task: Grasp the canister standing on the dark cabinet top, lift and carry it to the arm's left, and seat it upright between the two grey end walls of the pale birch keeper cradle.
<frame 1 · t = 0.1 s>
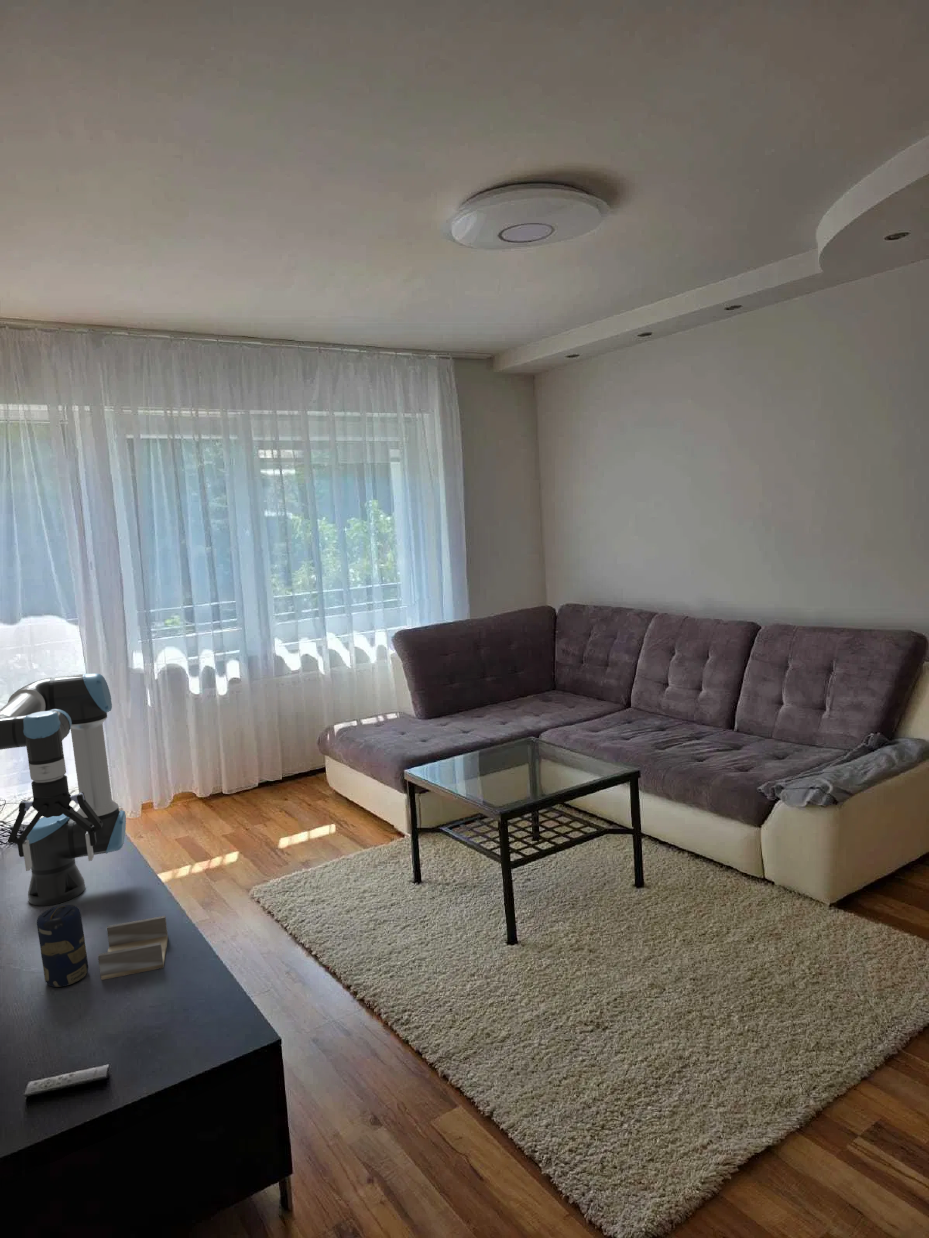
hand: (60, 863, 196), 28 cm above the table, fingers open, 13 cm apart
canister: (67, 979, 197), on the table
keeper cradle: (136, 957, 205), on the table
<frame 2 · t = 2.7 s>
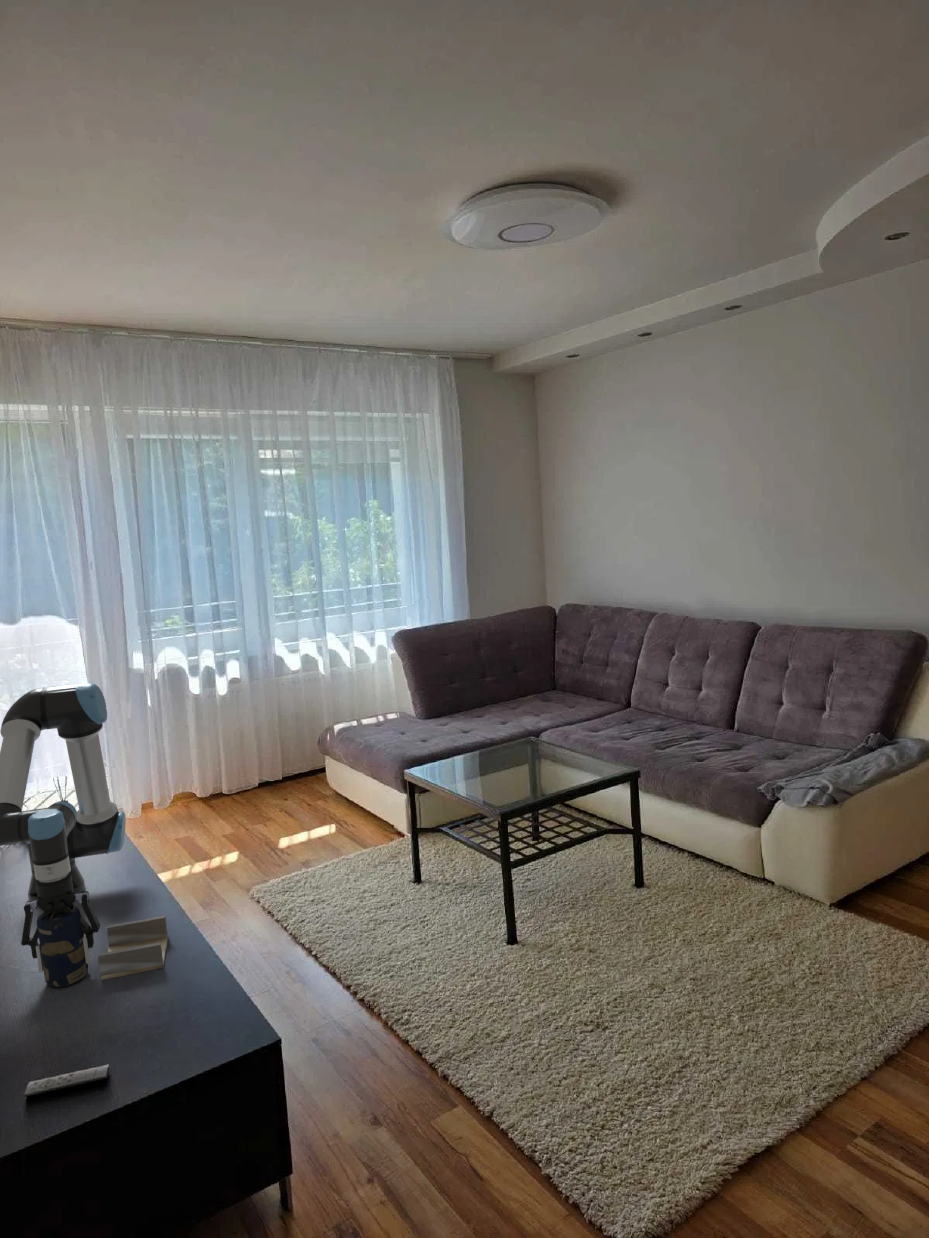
hand: (65, 964, 197), 4 cm above the table, fingers closed on canister, 9 cm apart
canister: (67, 979, 197), on the table, touching gripper
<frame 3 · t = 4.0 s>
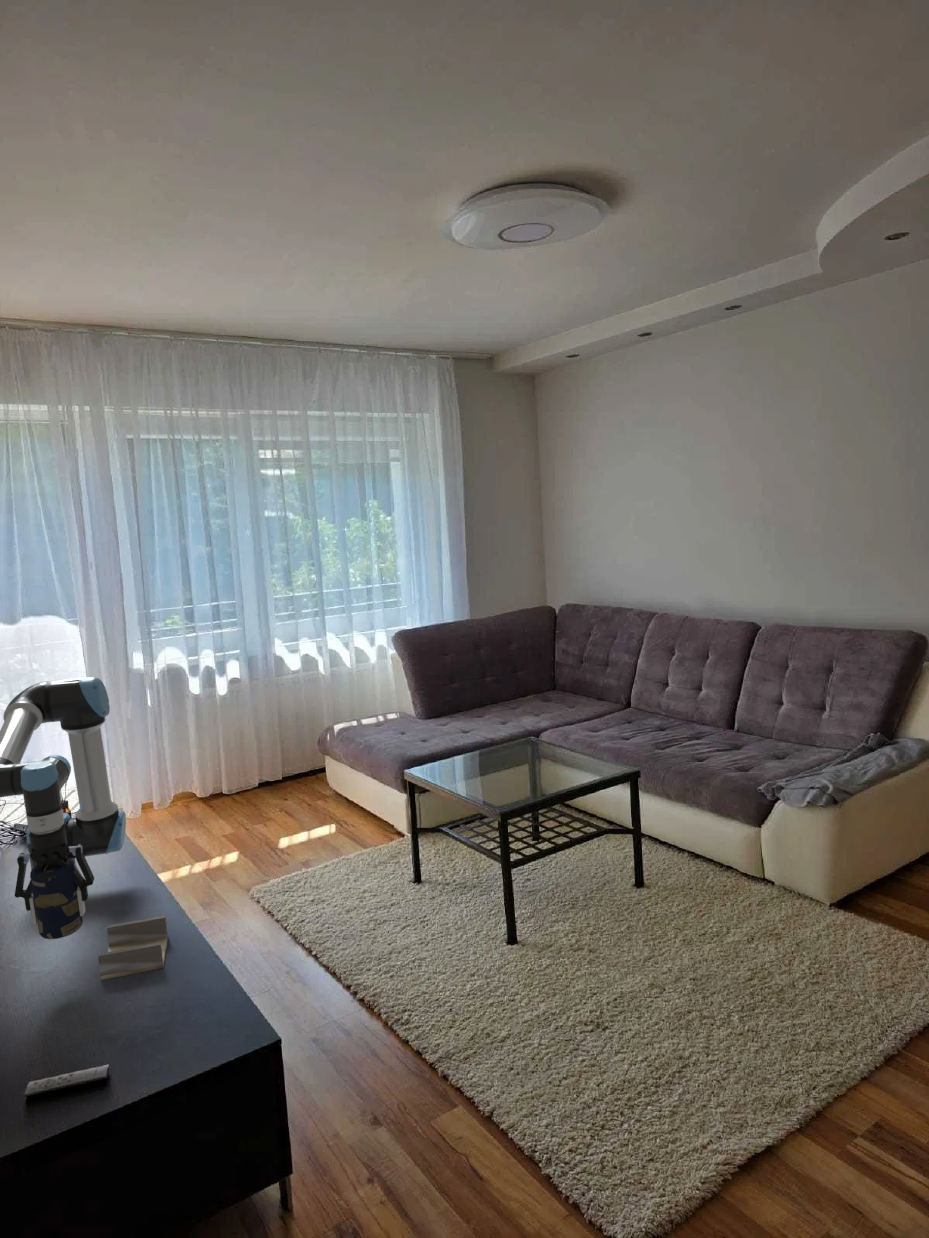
hand: (59, 917, 196), 15 cm above the table, fingers closed on canister, 9 cm apart
canister: (61, 932, 196), point 12 cm above the table, touching gripper
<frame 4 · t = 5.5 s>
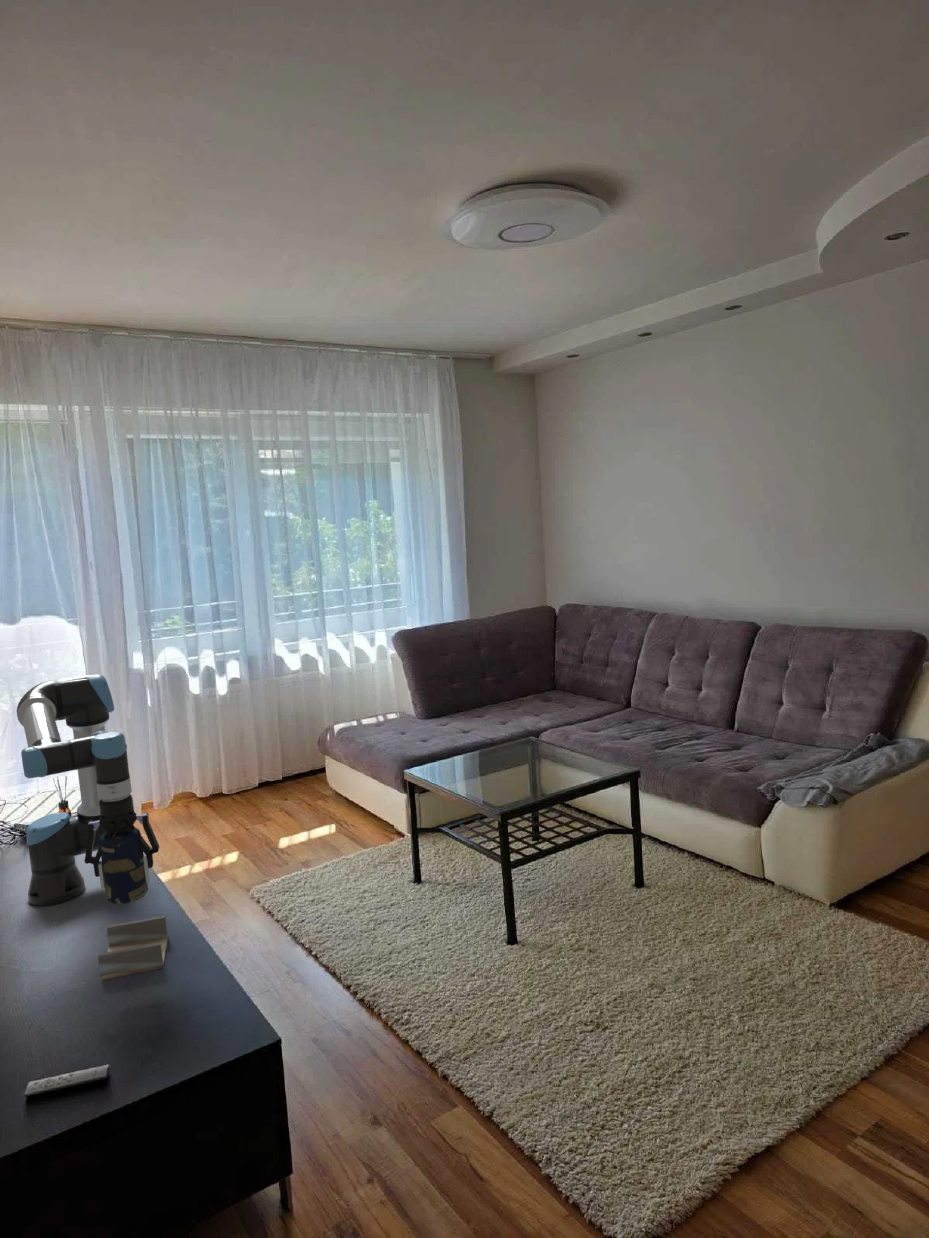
hand: (126, 883, 202), 19 cm above the table, fingers closed on canister, 9 cm apart
canister: (128, 898, 203), point 16 cm above the table, touching gripper
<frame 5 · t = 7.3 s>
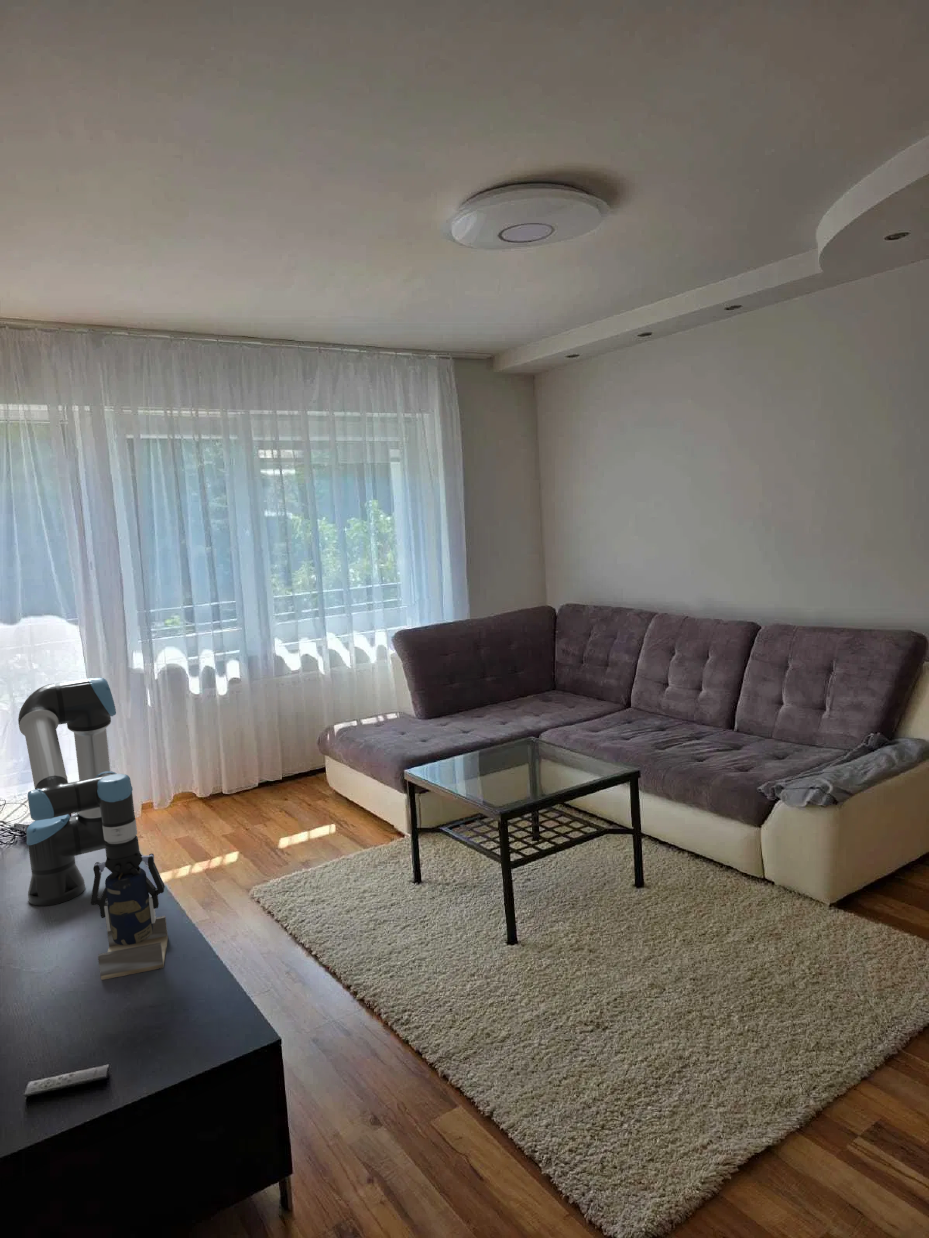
hand: (131, 924, 204), 9 cm above the table, fingers closed on canister, 9 cm apart
canister: (133, 939, 204), point 5 cm above the table, touching gripper
when the fingers open (7 cm above the table, at t = 8.4 s): canister drops 2 cm, resting on keeper cradle.
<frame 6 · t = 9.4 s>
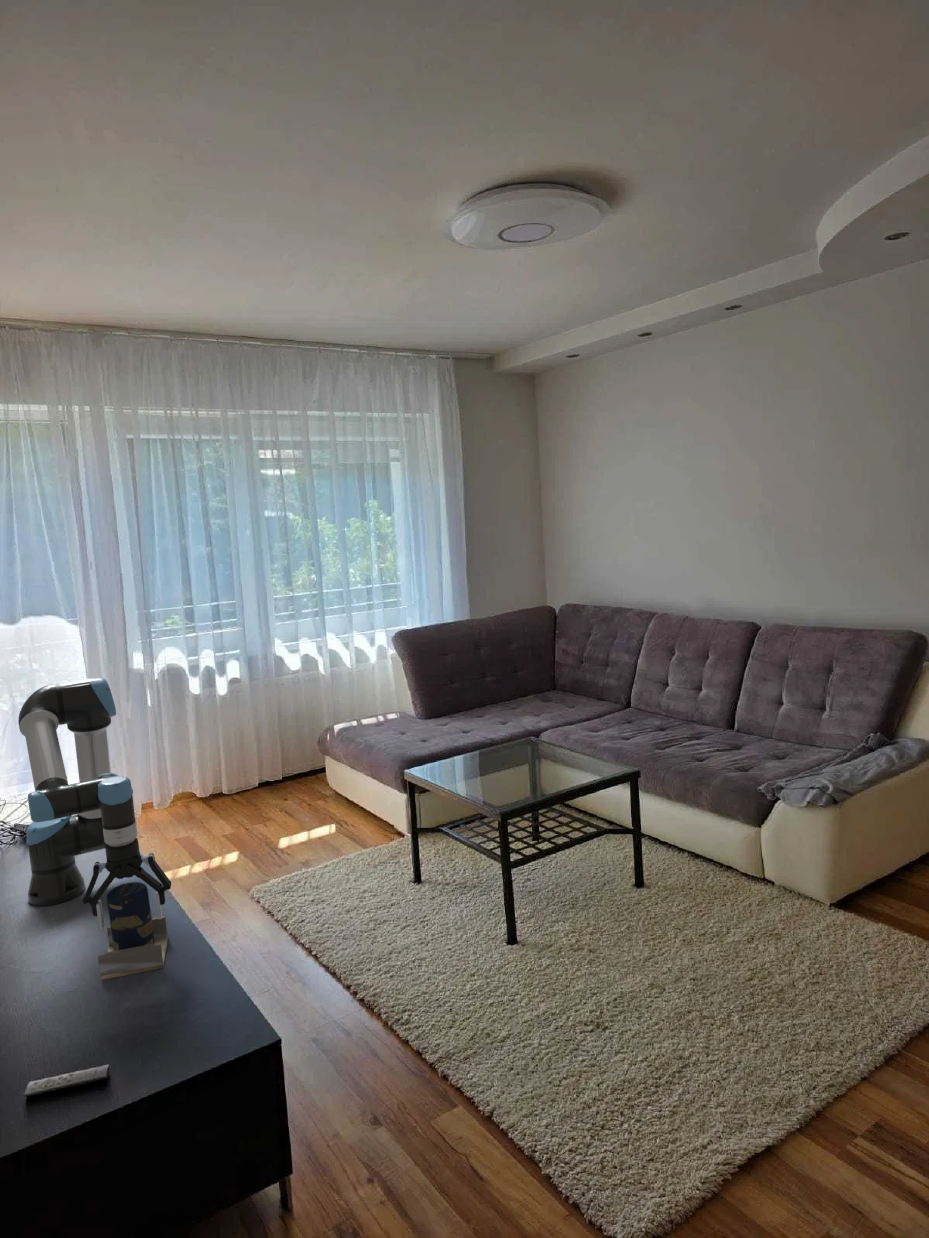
hand: (131, 921, 204), 9 cm above the table, fingers open, 13 cm apart
canister: (135, 954, 205), point 1 cm above the table, touching keeper cradle
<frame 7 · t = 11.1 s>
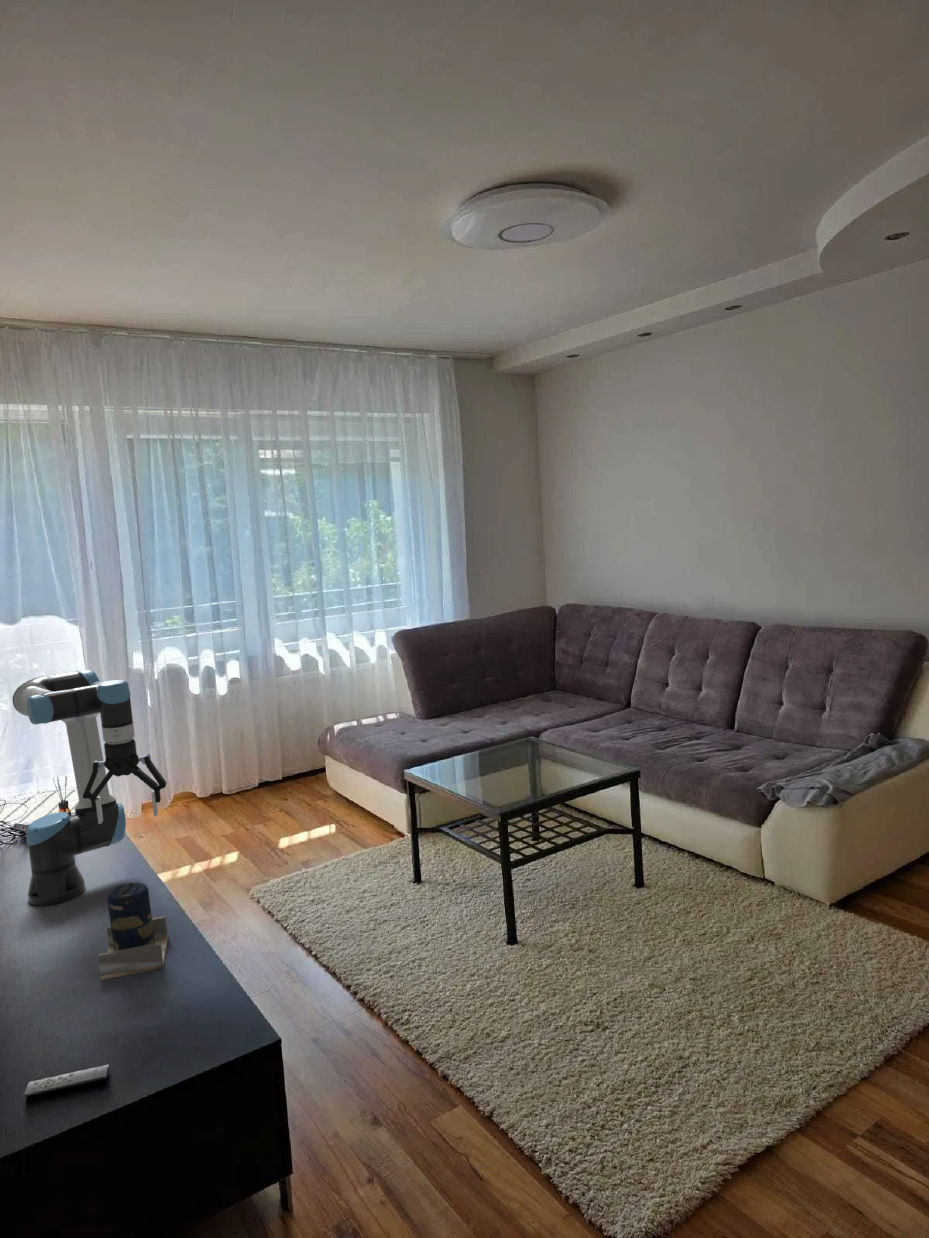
hand: (128, 818, 217), 30 cm above the table, fingers open, 13 cm apart
nothing on the table moved.
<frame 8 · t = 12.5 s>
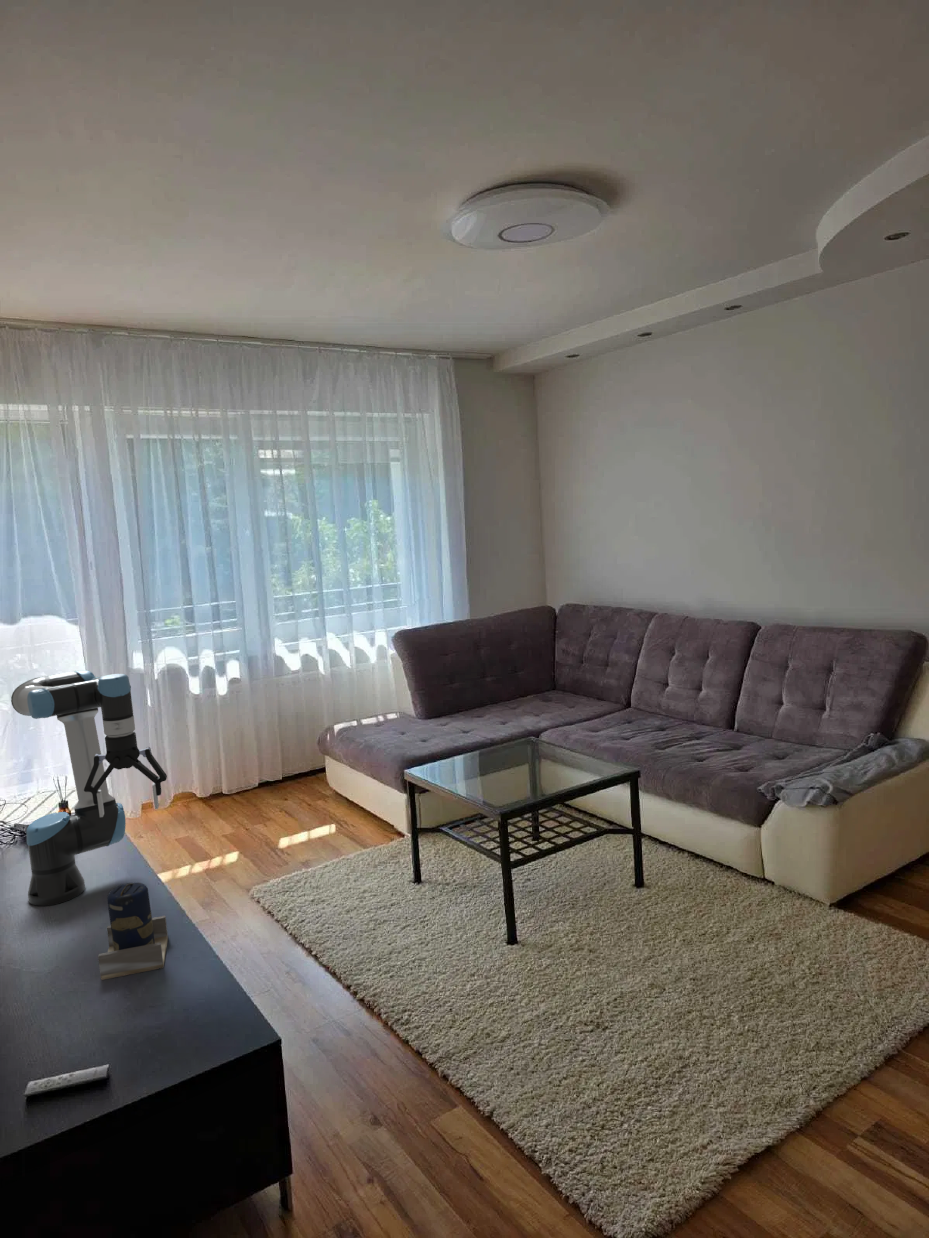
hand: (129, 811, 218), 32 cm above the table, fingers open, 13 cm apart
nothing on the table moved.
at the end: canister inside the target area on the keeper cradle (0.1 cm from its centre), point 0.8 cm above the keeper cradle's base; canister tilted 0°; the gripper is holding nothing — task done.
